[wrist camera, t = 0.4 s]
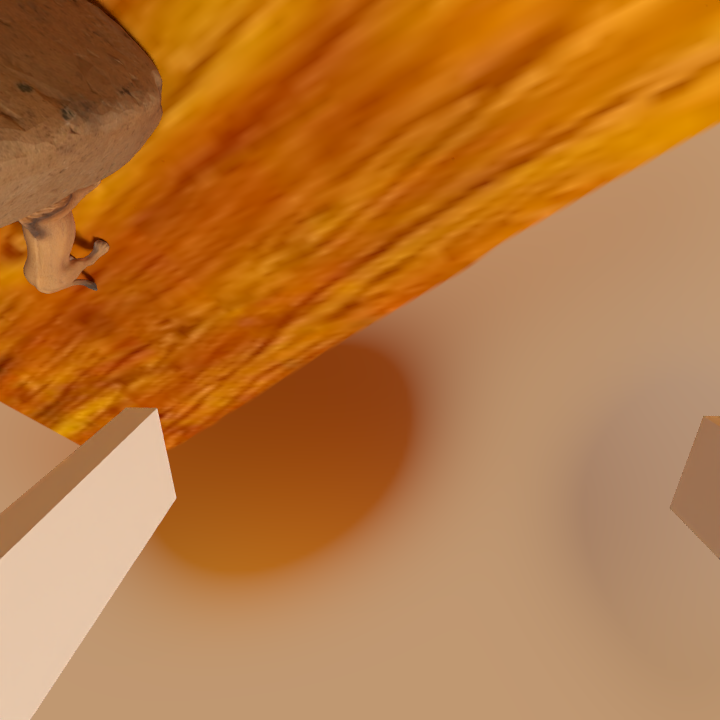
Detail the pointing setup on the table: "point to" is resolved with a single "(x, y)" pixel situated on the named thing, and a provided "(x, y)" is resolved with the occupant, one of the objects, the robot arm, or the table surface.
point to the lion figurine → (57, 246)
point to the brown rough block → (68, 101)
